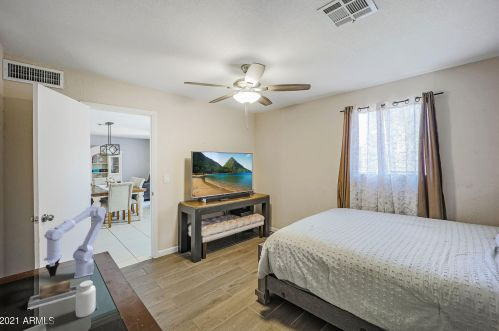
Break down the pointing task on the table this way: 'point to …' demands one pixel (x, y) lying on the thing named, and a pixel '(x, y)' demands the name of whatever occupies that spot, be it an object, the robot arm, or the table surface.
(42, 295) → the door panel
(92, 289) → the pill bottle
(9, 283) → the table surface
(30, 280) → the table surface
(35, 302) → the track
